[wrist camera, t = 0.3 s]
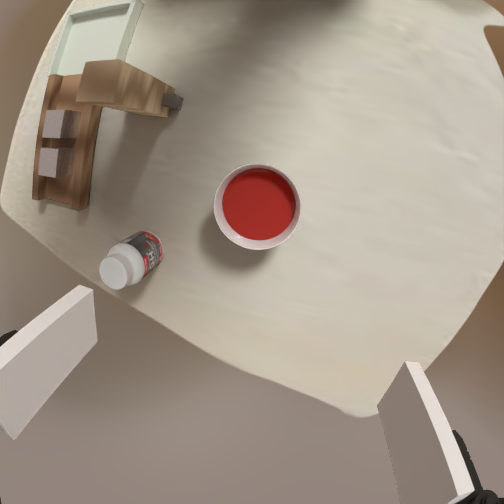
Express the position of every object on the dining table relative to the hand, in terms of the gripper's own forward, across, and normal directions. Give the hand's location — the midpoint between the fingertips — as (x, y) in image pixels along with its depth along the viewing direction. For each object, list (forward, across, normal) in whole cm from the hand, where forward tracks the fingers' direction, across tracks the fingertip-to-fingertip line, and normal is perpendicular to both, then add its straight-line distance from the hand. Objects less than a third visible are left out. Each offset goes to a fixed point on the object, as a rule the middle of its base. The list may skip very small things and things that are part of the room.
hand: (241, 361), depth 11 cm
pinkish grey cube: (+26, -32, +3) cm, 41 cm away
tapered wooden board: (+27, -18, +12) cm, 34 cm away
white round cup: (+27, -2, +2) cm, 27 cm away
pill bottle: (+27, -16, -8) cm, 32 cm away
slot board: (+27, -32, +6) cm, 42 cm away
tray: (+27, -32, +22) cm, 47 cm away
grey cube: (+26, -32, +8) cm, 42 cm away
